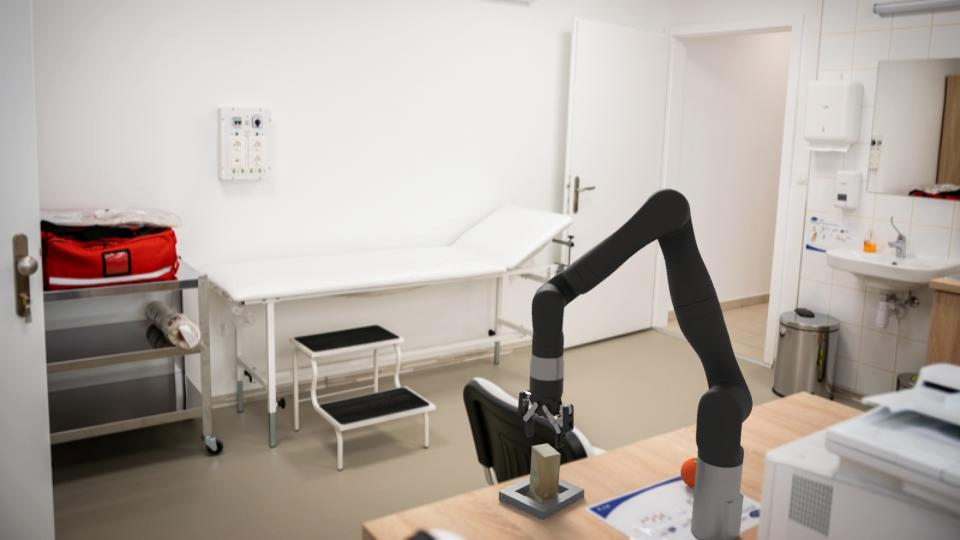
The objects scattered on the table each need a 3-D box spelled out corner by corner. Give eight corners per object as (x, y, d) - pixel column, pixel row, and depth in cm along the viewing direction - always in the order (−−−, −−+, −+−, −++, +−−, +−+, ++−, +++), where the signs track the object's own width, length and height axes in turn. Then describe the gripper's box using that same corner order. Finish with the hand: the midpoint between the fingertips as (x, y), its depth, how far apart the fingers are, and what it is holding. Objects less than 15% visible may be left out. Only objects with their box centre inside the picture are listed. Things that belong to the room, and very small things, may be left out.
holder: (584, 497, 183) (584, 489, 183) (542, 520, 173) (543, 512, 172) (540, 478, 192) (540, 470, 192) (498, 499, 181) (499, 491, 181)
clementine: (717, 493, 187) (720, 465, 185) (691, 497, 185) (694, 468, 183) (698, 478, 194) (701, 451, 193) (673, 481, 192) (676, 454, 191)
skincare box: (528, 494, 184) (530, 445, 182) (544, 490, 186) (546, 442, 183) (542, 507, 178) (544, 456, 176) (558, 503, 180) (561, 453, 178)
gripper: (582, 377, 174) (579, 446, 177) (532, 362, 183) (530, 428, 187) (561, 385, 168) (559, 456, 172) (511, 369, 178) (509, 437, 181)
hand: (544, 441), depth 179 cm, fingers open, 8 cm apart
